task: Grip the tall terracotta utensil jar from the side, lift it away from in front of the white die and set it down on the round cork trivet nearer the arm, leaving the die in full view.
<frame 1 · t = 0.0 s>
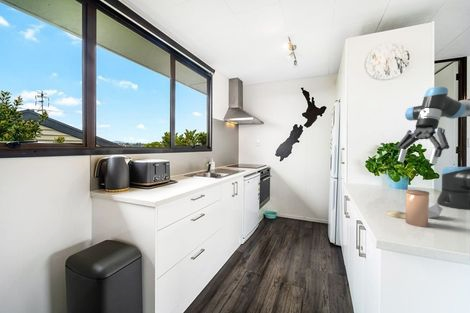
hand: (415, 162, 91), 28 cm above the worktop, tool tilted 20°, fingers open, 13 cm apart
die: (429, 217, 97), on the worktop
trivet: (399, 215, 100), on the worktop
jar: (416, 223, 89), on the worktop
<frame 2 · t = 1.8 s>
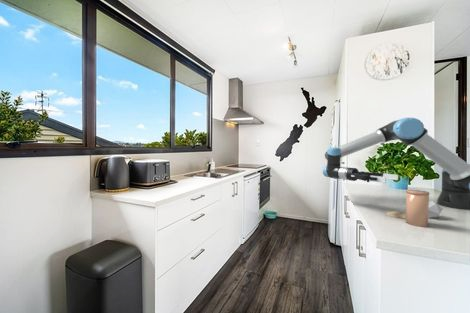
hand: (392, 178, 97), 20 cm above the worktop, tool horizontal, fingers open, 13 cm apart
nothing on the worktop moved.
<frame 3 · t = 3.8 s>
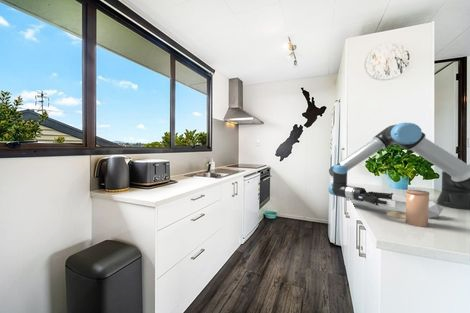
hand: (402, 202, 93), 9 cm above the worktop, tool horizontal, fingers open, 13 cm apart
nothing on the worktop moved.
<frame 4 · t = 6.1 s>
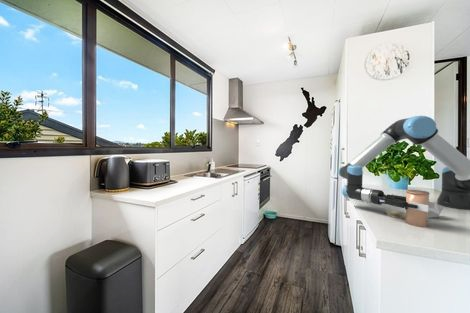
hand: (431, 207, 85), 9 cm above the worktop, tool horizontal, fingers closed on jar, 7 cm apart
jar: (416, 223, 89), on the worktop, touching gripper
everything else where it was.
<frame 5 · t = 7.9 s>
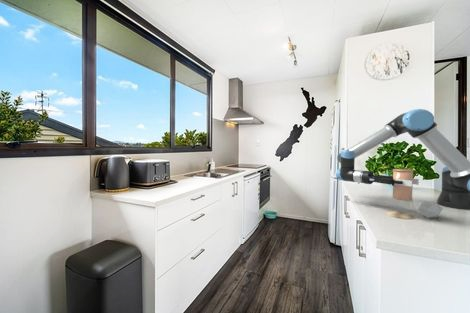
hand: (415, 182, 94), 18 cm above the worktop, tool horizontal, fingers closed on jar, 7 cm apart
jar: (402, 198, 99), point 9 cm above the worktop, touching gripper
everything else where it was.
when the fingers open (10 cm above the worktop, at t = 9.8 s): jar drops 1 cm, resting on trivet.
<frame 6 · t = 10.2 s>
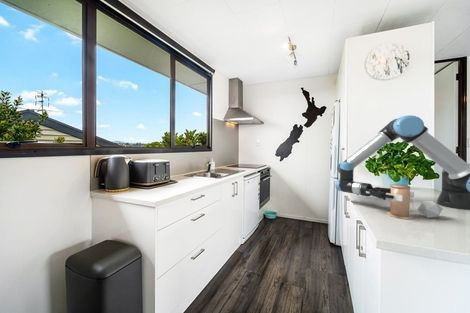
hand: (408, 196, 97), 10 cm above the worktop, tool horizontal, fingers open, 13 cm apart
jar: (399, 214, 100), resting on trivet
everything else where it was.
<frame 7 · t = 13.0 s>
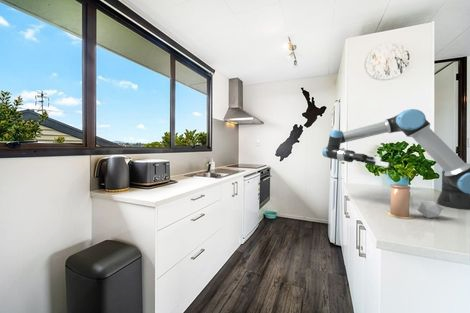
hand: (384, 162, 109), 27 cm above the worktop, tool horizontal, fingers open, 13 cm apart
nothing on the worktop moved.
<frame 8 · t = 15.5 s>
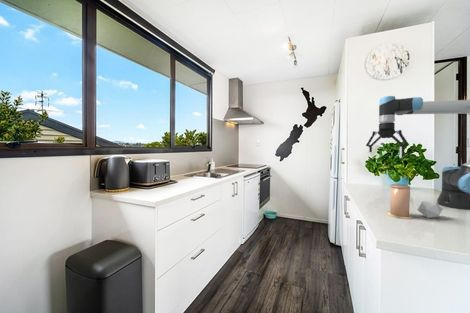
hand: (385, 157, 118), 29 cm above the worktop, tool pointing down, fingers open, 13 cm apart
nothing on the worktop moved.
at the end: jar 0.1 cm from the trivet (horizontally); jar tilted 0°; die moved 0.2 cm from its start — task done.
